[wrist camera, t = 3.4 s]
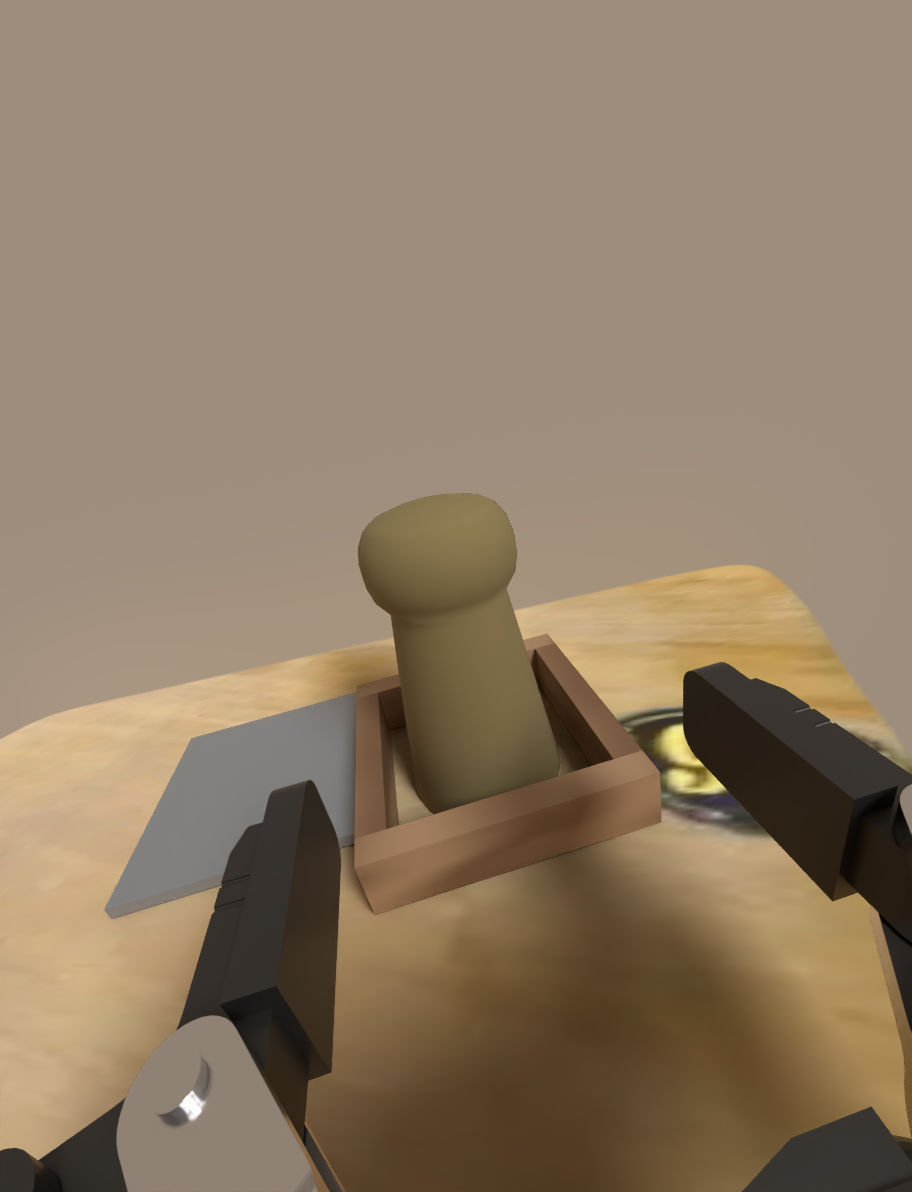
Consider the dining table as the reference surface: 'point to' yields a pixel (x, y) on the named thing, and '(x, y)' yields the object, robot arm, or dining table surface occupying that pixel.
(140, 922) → the dining table surface
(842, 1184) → the robot arm
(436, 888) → the caddy
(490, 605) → the cork
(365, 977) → the dining table surface
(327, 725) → the plate
